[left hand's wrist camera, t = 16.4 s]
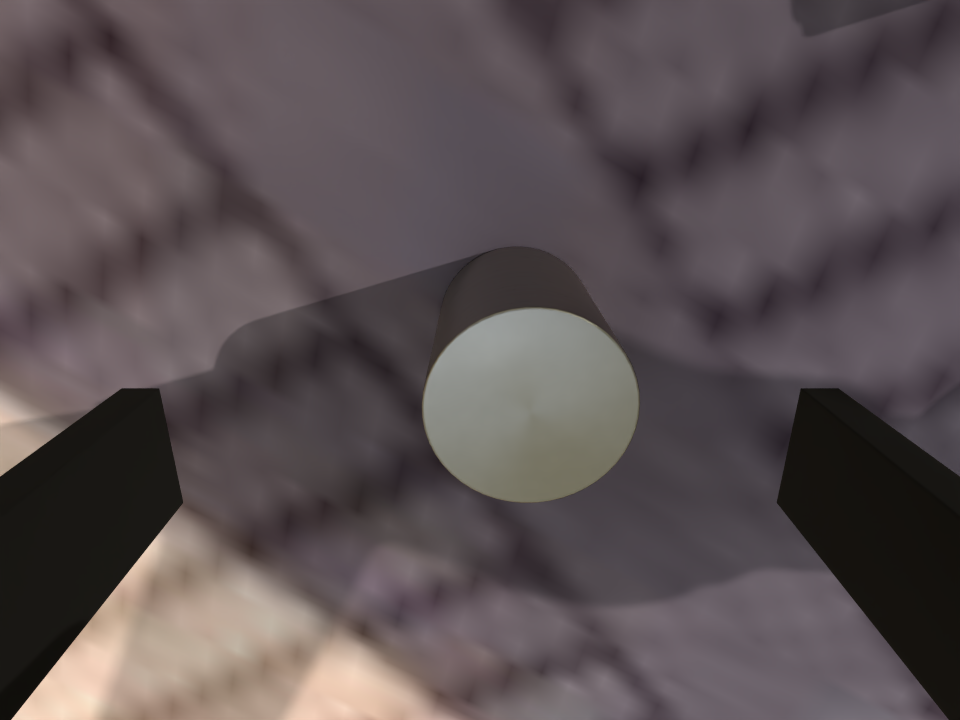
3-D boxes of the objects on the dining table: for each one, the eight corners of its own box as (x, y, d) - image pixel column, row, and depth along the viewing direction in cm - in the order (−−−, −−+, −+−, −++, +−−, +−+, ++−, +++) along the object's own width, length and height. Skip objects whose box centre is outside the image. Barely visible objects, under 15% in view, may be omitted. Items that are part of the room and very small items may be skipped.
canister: (458, 401, 28) (449, 519, 20) (424, 264, 25) (397, 331, 17) (600, 374, 27) (651, 483, 19) (578, 231, 25) (626, 285, 17)
